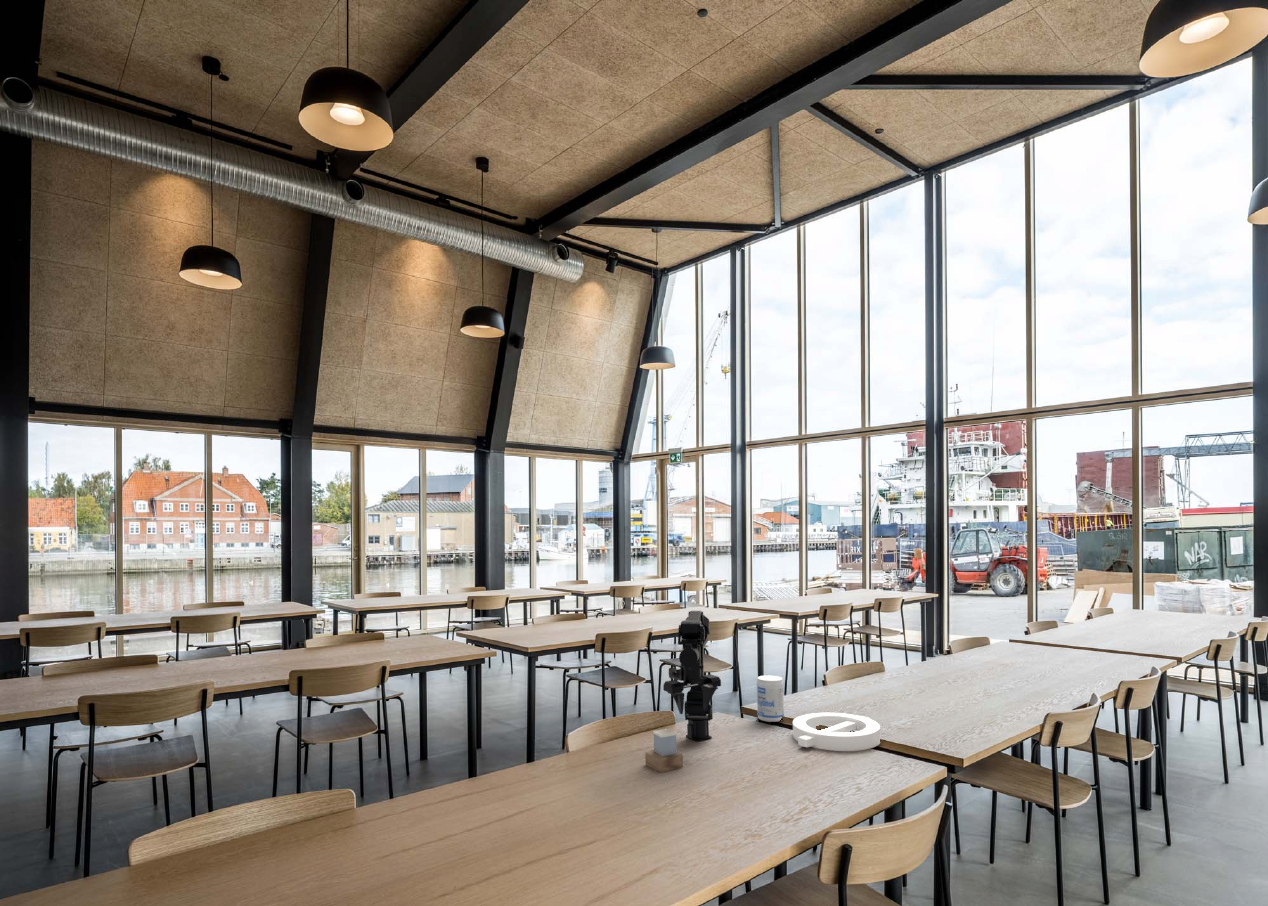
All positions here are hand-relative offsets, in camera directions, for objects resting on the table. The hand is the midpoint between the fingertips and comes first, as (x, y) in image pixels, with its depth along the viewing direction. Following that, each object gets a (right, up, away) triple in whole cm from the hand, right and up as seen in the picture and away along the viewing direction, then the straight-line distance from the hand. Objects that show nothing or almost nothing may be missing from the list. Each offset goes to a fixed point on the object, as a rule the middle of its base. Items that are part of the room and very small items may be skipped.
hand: (693, 711), depth 224 cm
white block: (-9, -8, -12) cm, 17 cm away
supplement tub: (+31, -16, +35) cm, 49 cm away
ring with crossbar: (+49, -13, +11) cm, 52 cm away
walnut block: (-10, -12, -13) cm, 20 cm away
